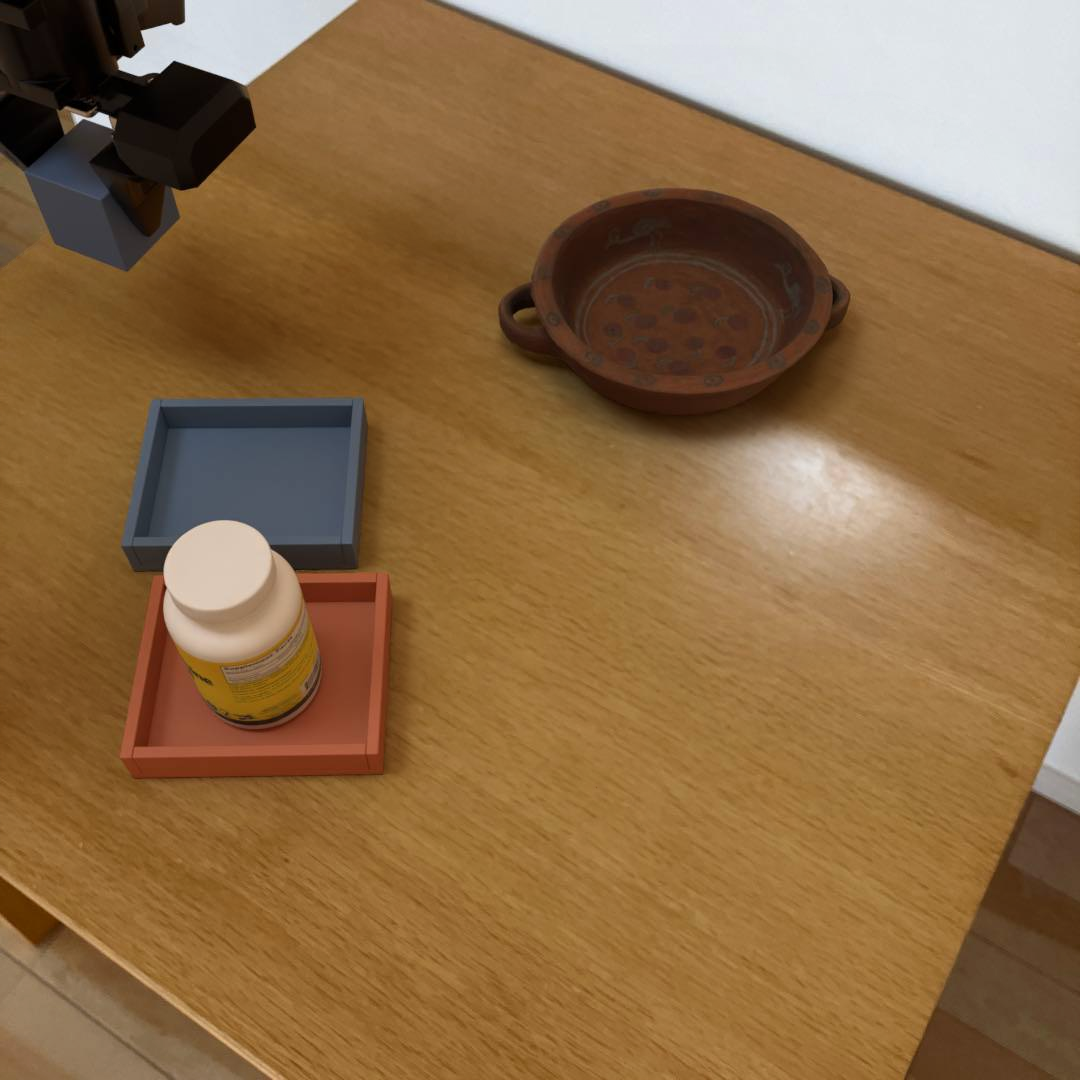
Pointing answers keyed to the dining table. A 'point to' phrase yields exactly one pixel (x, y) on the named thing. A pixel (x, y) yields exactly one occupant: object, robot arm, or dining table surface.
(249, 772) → the terracotta tray
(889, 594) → the dining table surface
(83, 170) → the blue block
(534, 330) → the dish
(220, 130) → the robot arm
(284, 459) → the blue tray
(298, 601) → the pill bottle
